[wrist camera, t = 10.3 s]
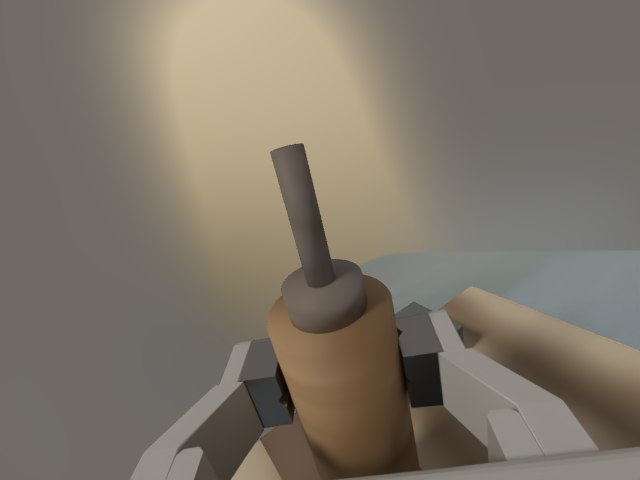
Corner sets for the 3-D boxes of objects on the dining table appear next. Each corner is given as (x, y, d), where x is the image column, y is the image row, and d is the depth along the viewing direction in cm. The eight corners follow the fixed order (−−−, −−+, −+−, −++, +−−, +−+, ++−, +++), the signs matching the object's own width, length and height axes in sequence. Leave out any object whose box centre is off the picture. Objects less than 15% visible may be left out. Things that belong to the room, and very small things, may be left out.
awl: (379, 432, 14) (310, 130, 9) (445, 499, 11) (399, 125, 6) (314, 488, 12) (192, 167, 8) (373, 580, 10) (243, 179, 5)
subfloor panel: (471, 296, 25) (471, 284, 25) (777, 423, 14) (786, 404, 14) (221, 485, 17) (213, 472, 16) (479, 1193, 6) (476, 1210, 5)
